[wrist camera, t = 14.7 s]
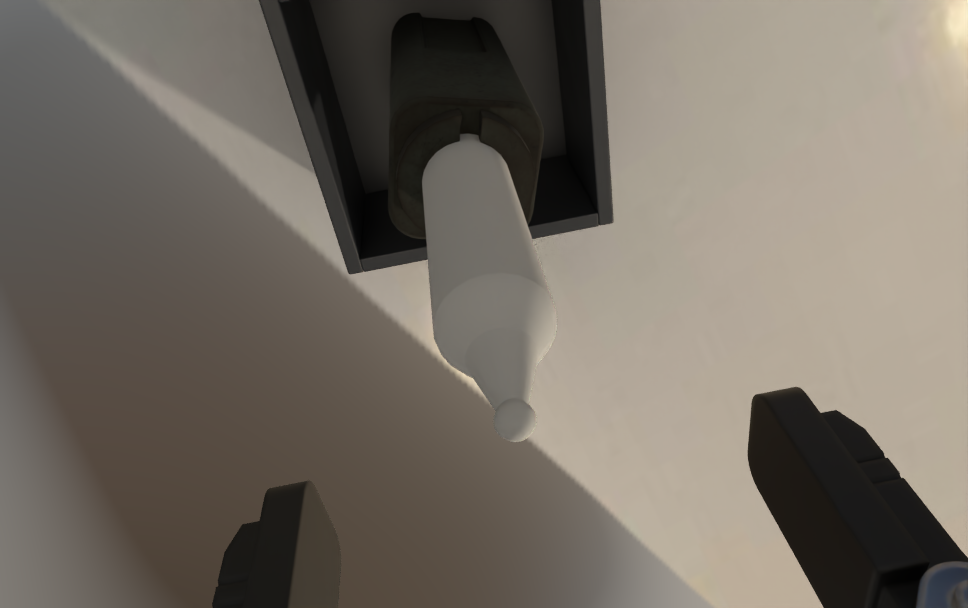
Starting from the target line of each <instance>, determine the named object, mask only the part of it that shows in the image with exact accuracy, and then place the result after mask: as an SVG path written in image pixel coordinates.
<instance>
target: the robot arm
mask: <svg viewBox="0 0 968 608" xmlns="http://www.w3.org/2000/svg"><path fill="white" fill-rule="evenodd" d="M748 461H749V467H750V471H751V474H752V477H753V480H754V482H755V484H756V486H757V488H758V490H759V492H760V494H761V496H762V497H763V499H764V501H765V503H766V505H767V506H768V508H769V510H770V512H771V514H772V515H773V517H774V519H775V521H776V522H777V524H778V526H779V528H780V530H781V531H782V533H783V535H784V537H785V539H786V540H787V542H788V544H789V546H790V548H791V549H792V551H793V553H794V555H795V557H796V558H797V560H798V562H799V564H800V566H801V567H802V569H803V571H804V573H805V575H806V576H807V578H808V580H809V582H810V584H811V585H812V587H813V589H814V591H815V593H816V594H817V596H818V598H819V600H820V602H821V603H822V605H823V607H824V608H968V558H967V556H966V555H965V554H964V553H963V552H962V551H961V550H960V548H959V547H958V546H957V545H956V543H955V542H954V541H953V540H952V538H951V537H950V536H949V535H948V533H947V532H946V531H945V529H944V528H943V527H942V526H941V524H940V523H939V522H938V521H937V519H936V518H935V517H934V516H933V514H932V513H931V512H930V511H929V509H928V508H927V507H926V506H925V504H924V503H923V502H922V500H921V499H920V498H919V497H918V495H917V494H916V493H915V492H914V490H913V489H912V488H911V487H910V485H909V484H908V483H907V482H906V480H905V479H904V478H901V477H900V473H899V471H898V470H897V469H896V468H895V466H894V465H893V464H892V463H891V461H890V460H889V459H888V458H885V456H884V453H883V451H882V450H881V449H880V448H879V446H878V445H877V444H876V442H875V441H874V440H873V439H872V437H871V436H870V435H869V434H868V432H867V431H866V430H865V429H864V428H863V427H861V426H860V425H858V424H857V423H855V422H854V421H852V420H851V419H849V418H848V417H846V416H845V415H843V414H841V413H840V412H838V411H837V410H834V411H829V412H824V413H820V412H819V411H818V409H817V408H816V406H815V405H814V404H813V402H812V401H811V400H810V398H809V397H808V396H807V394H806V393H805V392H804V391H803V390H802V389H801V388H799V387H793V388H788V389H783V390H777V391H772V392H767V393H762V394H757V395H755V396H754V397H753V399H752V406H751V418H750V430H749V442H748ZM340 571H341V553H340V545H339V540H338V536H337V533H336V530H335V528H334V526H333V524H332V521H331V520H330V517H329V515H328V513H327V511H326V509H325V506H324V504H323V502H322V500H321V498H320V495H319V493H318V491H317V489H316V487H315V485H314V484H313V482H312V481H305V482H300V483H295V484H289V485H284V486H279V487H274V488H270V489H268V490H267V492H266V494H265V497H264V502H263V507H262V512H261V517H260V521H258V522H253V523H247V524H243V525H242V526H241V528H240V529H239V531H238V532H237V534H236V535H235V537H234V538H233V540H232V542H231V543H230V545H229V546H228V548H227V549H226V551H225V553H224V557H223V561H222V566H221V570H220V574H219V578H218V584H219V585H218V587H216V591H215V595H214V599H213V603H212V606H213V608H338V599H339V585H340V573H341V572H340Z"/></svg>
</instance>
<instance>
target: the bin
mask: <svg viewBox="0 0 968 608" xmlns="http://www.w3.org/2000/svg"><path fill="white" fill-rule="evenodd" d="M259 2H260V5H261V8H262V11H263V14H264V18H265V21H266V24H267V27H268V30H269V33H270V36H271V39H272V42H273V45H274V48H275V51H276V54H277V57H278V60H279V63H280V66H281V69H282V72H283V75H284V78H285V81H286V85H287V88H288V91H289V94H290V97H291V100H292V103H293V106H294V109H295V112H296V115H297V118H298V121H299V124H300V127H301V130H302V133H303V136H304V139H305V142H306V145H307V148H308V151H309V155H310V158H311V161H312V164H313V167H314V170H315V173H316V176H317V179H318V182H319V185H320V188H321V191H322V194H323V197H324V200H325V203H326V206H327V209H328V212H329V215H330V218H331V221H332V225H333V228H334V231H335V234H336V237H337V240H338V243H339V246H340V249H341V252H342V255H343V258H344V261H345V264H346V267H347V270H348V273H349V274H355V273H360V272H363V271H364V272H366V271H371V270H376V269H381V268H386V267H391V266H397V265H402V264H407V263H412V262H417V261H422V260H427V259H428V254H427V241H426V239H417V238H412V237H410V236H407V235H405V234H403V233H402V232H401V231H399V230H398V229H397V228H396V227H395V225H394V224H393V223H392V221H391V218H390V216H389V211H388V173H389V116H390V72H391V36H392V30H393V28H394V26H395V24H396V23H397V21H398V20H399V19H400V18H402V17H403V16H404V15H407V14H410V13H420V14H421V16H422V17H425V18H439V19H452V20H466V21H470V20H471V19H472V18H473V17H477V18H482V19H484V20H486V21H487V22H488V23H489V24H491V25H492V27H493V28H494V30H495V32H496V34H497V35H498V37H499V39H500V41H501V43H502V45H503V47H504V49H505V51H506V53H507V55H508V57H509V59H510V61H511V63H512V65H513V67H514V69H515V71H516V73H517V74H518V76H519V78H520V80H521V82H522V84H523V86H524V88H525V90H526V92H527V94H528V96H529V98H530V100H531V102H532V104H533V106H534V108H535V110H536V112H537V113H538V115H539V117H540V119H541V121H542V125H543V129H544V140H543V147H542V153H541V160H540V167H539V174H538V181H537V188H536V195H535V202H534V209H533V214H532V217H531V221H530V223H529V224H528V228H529V231H530V234H531V237H532V239H535V238H540V237H545V236H550V235H555V234H560V233H565V232H570V231H575V230H581V229H586V228H591V227H596V226H598V225H605V224H610V223H613V204H612V188H611V171H610V155H609V138H608V122H607V105H606V89H605V72H604V56H603V39H602V23H601V6H600V0H259Z"/></svg>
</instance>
